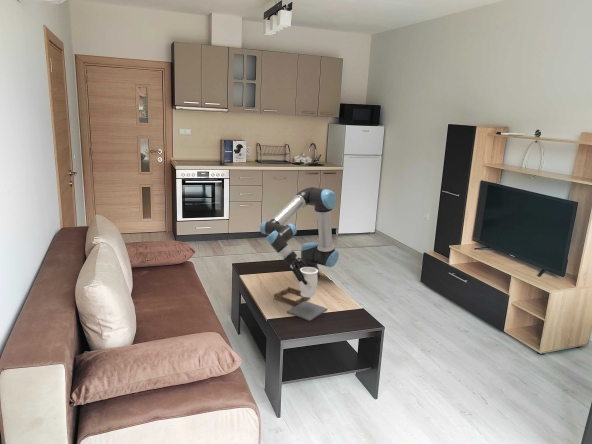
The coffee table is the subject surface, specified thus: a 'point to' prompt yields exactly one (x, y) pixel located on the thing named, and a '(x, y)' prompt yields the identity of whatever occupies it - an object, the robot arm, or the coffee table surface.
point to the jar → (312, 278)
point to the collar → (280, 297)
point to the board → (307, 310)
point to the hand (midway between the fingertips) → (313, 284)
